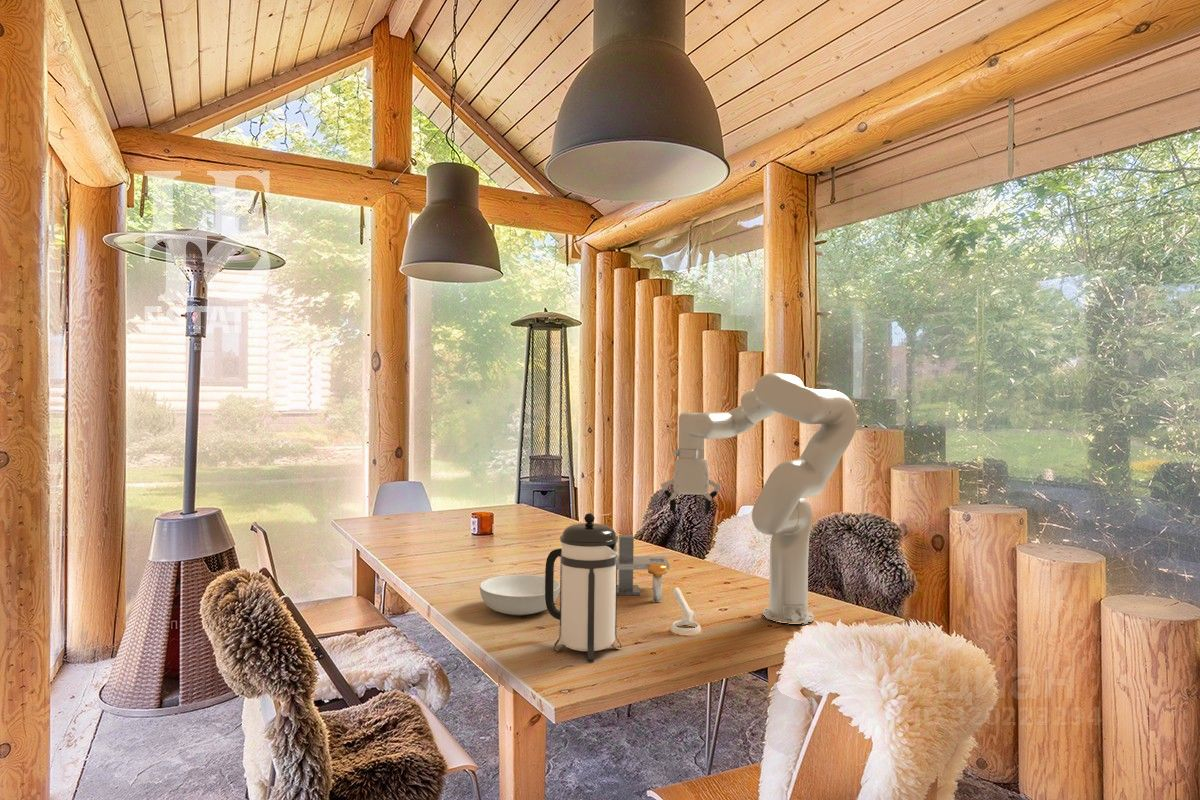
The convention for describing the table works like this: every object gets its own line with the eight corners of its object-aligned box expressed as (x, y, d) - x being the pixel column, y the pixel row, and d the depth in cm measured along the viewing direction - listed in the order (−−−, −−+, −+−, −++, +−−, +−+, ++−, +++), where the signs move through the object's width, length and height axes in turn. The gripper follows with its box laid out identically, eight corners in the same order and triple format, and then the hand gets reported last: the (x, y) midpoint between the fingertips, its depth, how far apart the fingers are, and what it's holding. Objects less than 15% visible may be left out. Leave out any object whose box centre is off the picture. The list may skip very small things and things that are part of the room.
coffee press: (619, 636, 158) (620, 507, 158) (623, 662, 142) (625, 519, 142) (544, 636, 157) (546, 507, 157) (540, 662, 141) (542, 518, 141)
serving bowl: (483, 626, 164) (484, 597, 164) (475, 601, 184) (476, 576, 184) (567, 620, 170) (567, 592, 170) (551, 596, 190) (551, 572, 190)
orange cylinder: (667, 604, 184) (668, 567, 184) (648, 604, 183) (649, 567, 184) (665, 598, 189) (665, 562, 189) (646, 598, 189) (647, 562, 189)
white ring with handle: (659, 599, 170) (682, 585, 169) (683, 644, 165) (707, 630, 164) (650, 601, 163) (674, 586, 162) (675, 648, 159) (700, 633, 157)
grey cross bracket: (669, 596, 191) (669, 539, 191) (612, 596, 191) (613, 539, 191) (664, 586, 201) (665, 532, 201) (610, 586, 201) (611, 532, 201)
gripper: (662, 455, 194) (661, 515, 194) (722, 456, 194) (721, 516, 194) (660, 453, 201) (659, 510, 201) (718, 454, 201) (717, 511, 201)
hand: (690, 513), depth 197 cm, fingers open, 9 cm apart
